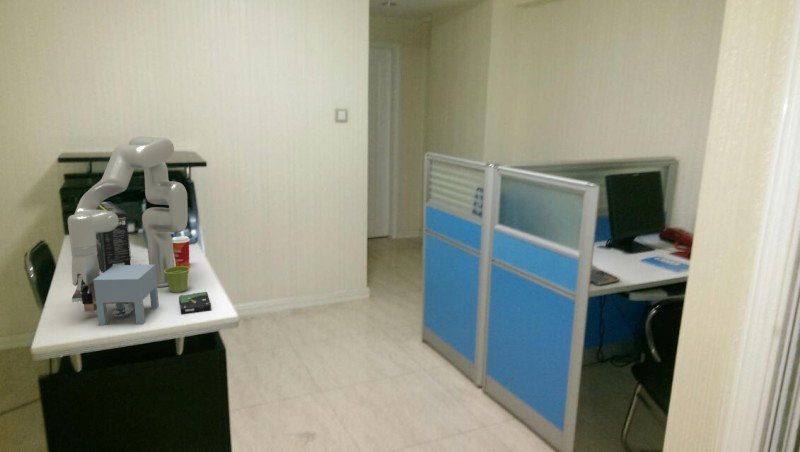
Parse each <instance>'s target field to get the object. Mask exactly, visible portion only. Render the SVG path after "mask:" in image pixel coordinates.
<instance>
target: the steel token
mask: <svg viewBox="0 0 800 452" xmlns="http://www.w3.org/2000/svg"><path fill="white" fill-rule="evenodd" d="M111 315H112V318H113V319H117V320H119V319H124V318H126V317H128V316H129V315H130V313H129V314H125V308H123V309H115V310H114V311H113V312H112V314H111Z"/></svg>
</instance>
